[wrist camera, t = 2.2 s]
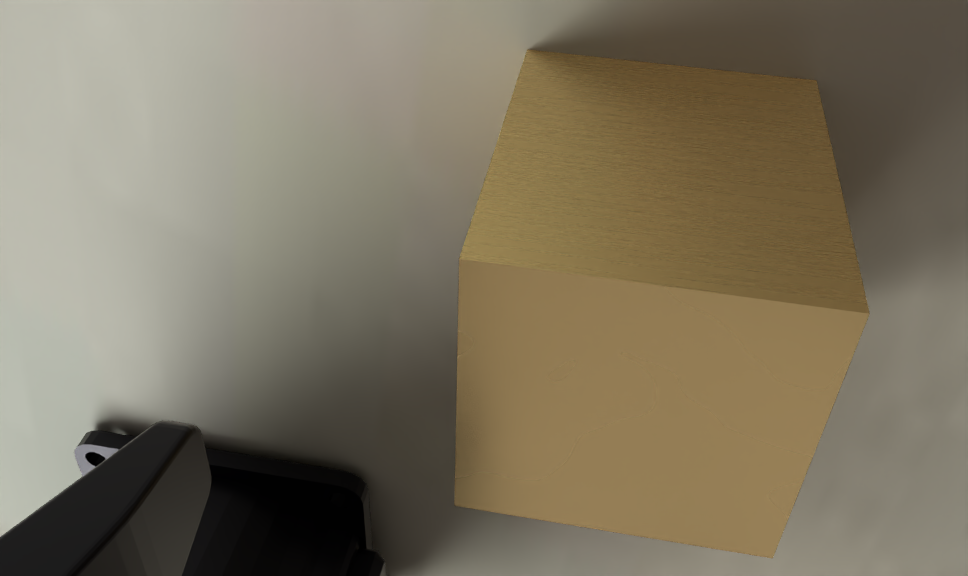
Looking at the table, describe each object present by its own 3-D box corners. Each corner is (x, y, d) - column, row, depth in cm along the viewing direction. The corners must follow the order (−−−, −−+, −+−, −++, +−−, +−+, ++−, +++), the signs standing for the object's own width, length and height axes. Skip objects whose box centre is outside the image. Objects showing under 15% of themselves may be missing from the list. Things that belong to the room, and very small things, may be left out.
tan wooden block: (512, 269, 16) (454, 505, 12) (527, 48, 13) (459, 258, 9) (752, 301, 15) (772, 558, 11) (815, 79, 13) (869, 314, 9)
